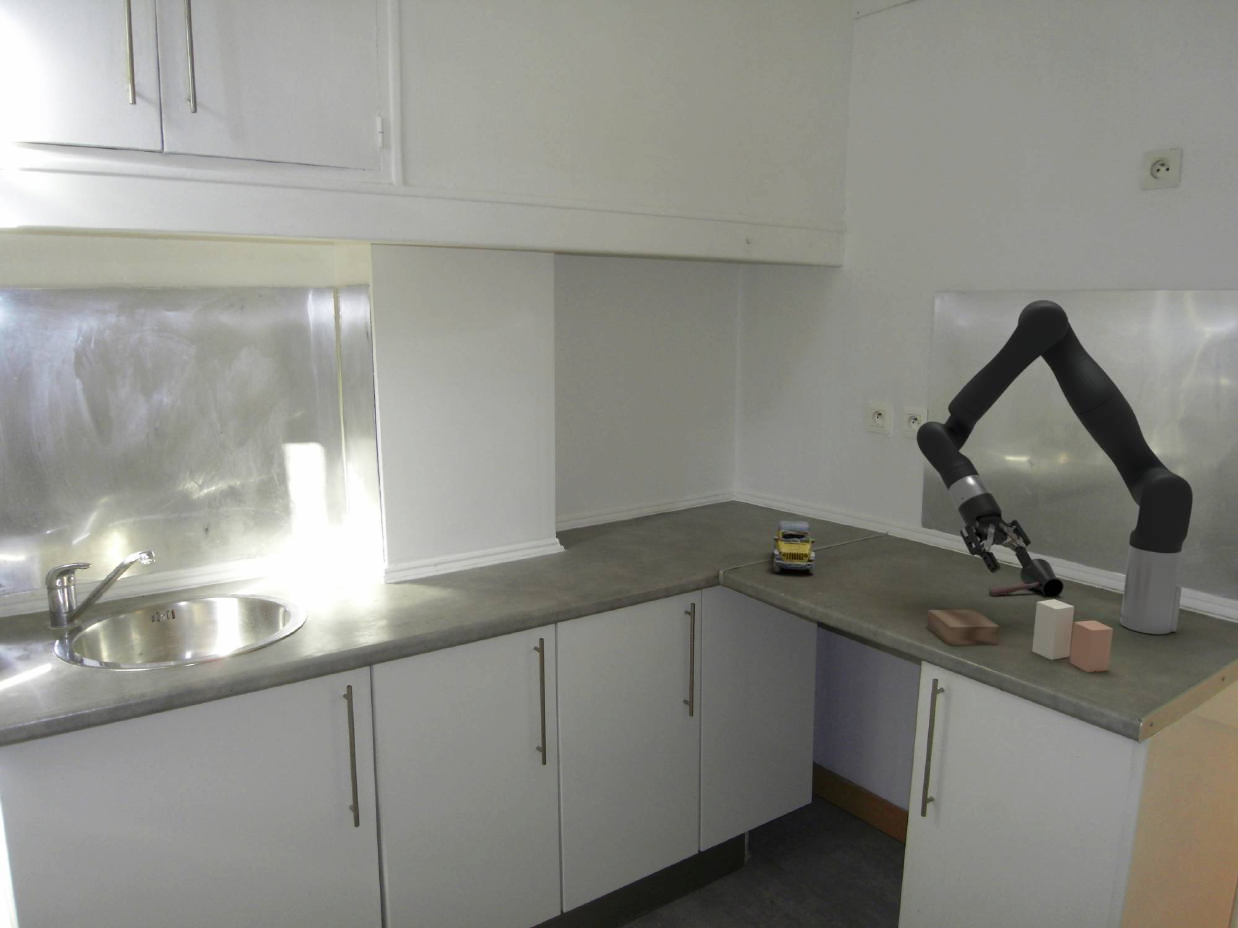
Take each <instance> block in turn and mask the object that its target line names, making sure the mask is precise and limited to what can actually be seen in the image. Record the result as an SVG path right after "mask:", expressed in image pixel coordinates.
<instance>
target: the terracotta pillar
mask: <svg viewBox="0 0 1238 928" xmlns="http://www.w3.org/2000/svg"><path fill="white" fill-rule="evenodd" d="M1113 631H1114V628H1112V627H1110V626H1108V625H1106V624H1103V623H1101V622H1099V621H1097V620H1085V621H1074V622H1073V625H1072V634H1071V644H1070V653H1069V663H1070V664H1071V665H1073V666H1075V667H1077V668H1079V669H1080V668H1081V670H1082V671H1084V672H1086V671H1087V672H1086V673H1095V672H1094V671H1096V672H1103V671H1104V672H1105V671H1109V670H1110V659H1111V651H1112V642H1113V635H1114V634H1113V633H1114V632H1113Z"/></svg>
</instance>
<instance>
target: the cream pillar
mask: <svg viewBox="0 0 1238 928" xmlns="http://www.w3.org/2000/svg"><path fill="white" fill-rule="evenodd" d="M1074 613H1075V606H1074V605H1071V604H1068V603H1065V602H1063V601H1060V600H1057V599H1054V598H1053V599H1047V600H1040V601H1036V610H1035V619H1034V628H1033V629H1034V630H1033V639H1032V640H1033V641H1032V650H1031V651H1032V652H1033V653H1034V654H1037V655H1040V656H1042V657H1043V658H1046V659H1048V660H1051V661H1053V660H1058V659H1063V658H1070V653H1071V643H1072V634H1073V624H1074V622H1073V621H1074Z"/></svg>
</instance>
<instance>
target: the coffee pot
mask: <svg viewBox="0 0 1238 928" xmlns="http://www.w3.org/2000/svg"><path fill="white" fill-rule="evenodd" d="M1032 563H1033V564H1032V566H1030V567H1029V568H1027V569H1024V568H1023V567H1022V566H1021V569H1020V574H1019V576H1020V580H1021V582H1022V584H1020V585H1013V586H1012V585H1011V586H1010V585H1009V586H1005V587H999V588H996V587H995V588H993V587H992V586H989V587H988V595H989V596H990V597H999V596H1005V594H1007V595H1009V594H1012V593H1015V592H1018V591H1024V590H1029V589H1034V590H1036V591H1039V592H1042V594H1043V596H1045V597H1046V598H1057V597H1059V596H1060V595H1061V594H1062V593H1063V591H1064V583H1063V581H1062V580H1061V579H1059V578H1057V576H1056V574H1055V571H1054V569H1053V567H1052V565H1051V564H1050V562H1049V561H1047V560H1046V559H1043V558H1032Z"/></svg>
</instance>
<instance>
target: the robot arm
mask: <svg viewBox="0 0 1238 928" xmlns="http://www.w3.org/2000/svg"><path fill="white" fill-rule="evenodd" d="M1039 357H1041V358H1042V359H1043V360H1044V362H1045V363H1046V364H1047V366H1048V367H1049V369H1050V370H1051V372H1052V373H1053V375H1054V377H1055V379H1056V382H1057V383H1058V386H1059V387H1060V390H1061V392H1062V394H1063V396H1064V398H1065V400H1066V401H1067V403H1068V405H1069V407H1070V408H1071V409H1072V411H1073V413H1074V414H1075V416H1076V417H1077V419H1078V421H1079V422H1080V423H1081V424H1082V426H1083V427H1084V428H1085V430H1086V431H1087V433H1088V434H1089V435H1090V436H1091V438H1092V439H1093V440H1094V442H1095V443H1097V445H1098V447H1100V448H1101V450H1102V451H1103V452H1104V453H1105V455H1107V457H1108V458H1109V459H1110V461H1111V462H1112V464H1113V465H1114V466H1115V468H1116V469H1117V471H1118V473H1119V475H1120V476H1121V478H1122V480H1123V482H1124V484H1125V487H1126V488H1127V490H1128V492H1129V494H1130V496H1131V498H1132V499H1133V501H1134V502H1135V504H1137V506H1138V507H1139V508H1138V515H1137V522H1136V526H1135V528H1134V529H1133V530H1131V532H1130V535H1129V541H1128V542H1129V543H1128V544H1129V545H1128V552H1127V561H1126V568H1125V569H1126V570H1125V579H1124V584H1123V585H1124V587H1123V594H1122V603H1121V604H1122V605H1121V610H1120V611H1121V613H1120V620H1119V622H1120V623H1119V624H1121V626H1123V627H1125V628H1127V629H1128V630H1131V631H1135V632H1140V633H1144V634H1150V635H1152V634H1153V635H1167V634H1170V633H1172V632H1177V627H1178V621H1179V619H1178V618H1179V613H1180V603H1181V597H1182V587H1181V586H1180V585H1178V581H1179V573H1180V572H1179V571H1180V564H1181V558H1182V549H1183V544H1184V542H1185V541H1186V540H1187V539H1186V538H1187V536H1188V533H1189V528H1190V522H1191V514H1192V509H1193V501H1194V497H1193V496H1194V495H1193V489H1192V487H1191V484H1190V483H1189V482H1188V481H1187V480H1186V479H1185V478H1184V477H1182V476H1180V475H1178V474H1176V473H1174V472H1173V471H1171V470H1170V469H1168V467H1167V466H1166V465H1165V464H1164V463H1163V462H1162V461H1161V460H1160V459H1159V457H1158V456H1157V454H1155V453H1154V451H1153V450H1152V448H1151V447H1150V446H1149V444H1148V443H1147V441H1146V439H1145V437H1144V435H1143V431H1142V429H1141V427H1140V423H1139V421H1138V419H1137V416H1136V414H1135V411H1134V410H1133V408H1132V406H1131V405H1130V403H1129V402H1128V400H1127V399H1126V398H1125V395H1124V394H1123V393H1122V392H1121V390H1120V389H1119V388H1118V386H1117V384H1116V383H1115V382H1114V380H1112V379H1111V378H1110V376H1109V375H1108V373H1106V371H1105V370H1104V369H1103V368H1102V366H1101V365H1099V364H1098V362H1096V360H1094V358H1093V357H1092V356H1091V355H1090V354H1089V353H1088V351H1087V350H1086V348H1084V346H1083V344H1082V343H1081V341H1080V340H1079V338H1078V336H1077V335H1076V332H1075V330H1074V329H1073V327H1072V326H1071V323H1070V321H1069V317H1068V315H1067V313H1066V311H1065V310H1064V308H1063V307H1062V306H1061V305H1060V304H1059V303H1057V302H1055V301H1053V300H1049V299H1040V300H1035V301H1034V300H1033V301H1031V302H1030V303H1028V304H1027V305H1026V306H1025V307H1024V308H1022V310H1021V312H1020V314H1019V315H1018V319H1017V326H1016V327H1015V329H1014V330H1013V332H1012V333H1011V335H1010V336H1009V338H1008V340H1007V341H1006V343H1005V344H1004V345H1003V347H1001V349H1000V350H999V351H998V352H997V353H996V355H994V357H993V358H992V359H990V361H989V362H987V364H985V365H984V366H983V367H982V368H981V369H980V370H979V371H978V372H977V373H976V374H974V376H972V378H971V379H970V380H969V381H967V383H966V384H965V385H964V386H963V387H961V389H960V390H959V392H958V393H957V394H956V395H955V397H953V398H952V400H951V401H950V403H948V405H947V410H948V411H947V412H949V414H950V415H949V416H948V417H947V419H946V421H945V422H944V423H941V422H939V421H926V422H925V423H923V424H922V425H920V427H919V428H918V430H917V433H916V444H917V446H918V448H919V451H920V452H921V453H922V455H923V456H924V457H925V458H926V460H927V461H928V462H929V464H930V465H931V466H932V467H933V468H934V469H935V471H936V472H938V475H939V476H940V478H941V479H942V480H941V481H942V483H944V485H945V487H946V489H947V491H948V493H949V494H950V495H949V496H950V498H951V500H952V503H953V504H954V506H955V508H956V510H957V511H958V513H959V514H960V517H961V519H962V521H963V522H964V524H965V526H964V527H963V528H961V529H960V531H959V534H960V536H961V538H962V540H963V542H964V544H965V546H966V548H967V550H968V552H969V554H970V555H971V556H979V558H982V560H983V562H984V564H985V566H986V568H987V569H988V570H989V572H990V573H991V574H995V573H997V572H999V570H1001V564H1000V563H999V561H998V560H997V558H996V556H995V554H994V553H993V551H991V548H992V547H993V546H995V545H997V546H1002V547H1004V548H1006V549H1007V548H1008V549H1010V550H1011V551H1012V552H1014V555H1015V557H1016V558H1017V560H1018V562H1019V564H1020V565H1021V568H1022V567H1023V568H1024V569H1027V568H1029V567H1030V566H1032V564H1033V563H1032V560H1033V558H1032V557H1031V556H1030V554H1029V552H1028V551H1027V547H1028V546H1029V545H1031V544H1032V541H1031V540H1030V538H1029V536H1028V535H1027V533H1026V532H1025V531H1024V529H1023V528H1022V526H1021V525H1020V523H1019V521H1018V520H1017V519H1012V521H1010V522H1006V521H1005V520H1004V519H1003V518H1002V515H1003V511H1002V509H1001V507H1000V506H999V504H998V502H997V501H996V498H995V497H994V495H993V493H992V492H991V490H990V488H989V487H988V485H987V483H986V482H985V481H984V480H983V478H982V477H981V476H980V474H979V472H978V470H977V469H976V467H975V465H974V463H973V462H972V461H971V459H970V458H969V457H968V456H966V455H965V454H963V453H962V452H961V451H960V450H961V449H962V448H963V447H964V445H965V444H966V443H967V441H968V440H969V437H970V435H971V433H973V430H974V429H975V426H976V424H977V423H978V422H979V421H980V420H981V419H982V417H983V416H984V415H985V414H987V412H988V411H989V410H990V409H991V407H993V405H994V404H996V402H997V401H998V400H999V399H1000V397H1001V396H1002V395H1003V394H1004V393H1005V391H1006V390H1007V389H1008V388H1009V387H1010V385H1012V384H1013V382H1014V381H1015V380H1016V379H1017V378H1018V377H1019V376H1020V375H1021V374H1022V373H1023V372H1024V371H1025V370H1026V369H1028V367H1029V366H1030V365H1031V364H1032V363H1034V362H1035V361H1036V360H1037V359H1038V358H1039ZM1021 539H1022V540H1021ZM1015 544H1016V545H1015Z"/></svg>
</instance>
